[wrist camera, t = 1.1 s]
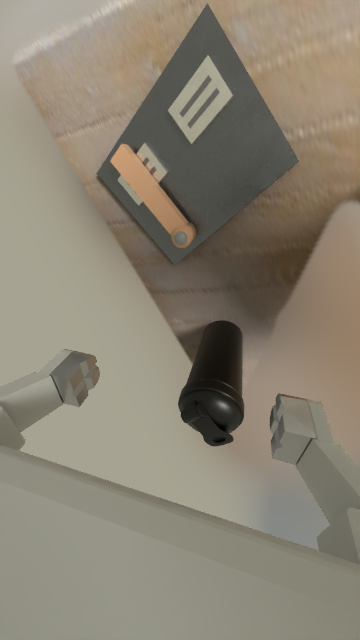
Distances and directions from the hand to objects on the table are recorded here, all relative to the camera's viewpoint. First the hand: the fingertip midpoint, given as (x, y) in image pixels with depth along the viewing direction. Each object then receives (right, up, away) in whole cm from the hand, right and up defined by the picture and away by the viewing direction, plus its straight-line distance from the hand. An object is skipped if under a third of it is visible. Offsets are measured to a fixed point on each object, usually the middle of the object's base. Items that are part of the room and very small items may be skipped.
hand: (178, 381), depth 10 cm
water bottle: (+10, -1, +41) cm, 42 cm away
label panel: (+1, +27, +26) cm, 37 cm away
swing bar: (-3, +23, +28) cm, 36 cm away
